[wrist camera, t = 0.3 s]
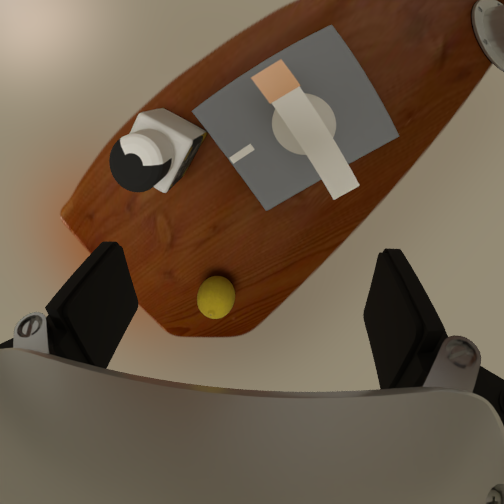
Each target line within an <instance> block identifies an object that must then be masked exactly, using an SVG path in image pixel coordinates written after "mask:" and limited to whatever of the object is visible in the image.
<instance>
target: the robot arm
mask: <svg viewBox="0 0 504 504" xmlns="http://www.w3.org/2000/svg"><path fill="white" fill-rule="evenodd" d="M472 24H473V29H474V32H475V35H476V38H477V40H478V42H479V44H480V46H481V48H482V50H483V51H484V53H485V54H486V56H487V57H488V59H489V60H490V61H491V62H492V63H493V64H494V65H495V66H496V67H497V68H499V69H500V70H502V71H503V72H504V5H503V4H502V3H500V2H498V1H496V0H479V1H477V2H476V3H475V4H474V6H473V9H472ZM45 308H46V310H47V312H48V314H49V315H48V316H47V318H46V317H45V315H44V314H43V313H40V312H34V313H30V314H28V315H26V316H25V317H23V318H22V319H21V320H20V321H19V322H18V323H17V325H16V327H15V329H14V338H12V339H10V340H8V341H6V342H4V343H2V344H0V504H504V380H503V379H501V378H500V377H498V376H496V375H495V374H493V373H491V372H490V371H488V370H486V369H485V368H483V367H481V366H480V364H481V355H480V351H479V350H478V348H477V346H476V345H475V344H474V343H473V342H472V341H470V340H469V339H467V338H465V337H462V336H450V337H448V336H447V334H446V332H445V329H444V326H443V324H442V322H441V320H440V318H439V316H438V314H437V312H436V310H435V308H434V307H433V305H432V303H431V301H430V299H429V297H428V295H427V293H426V292H425V290H424V288H423V286H422V284H421V283H420V281H419V279H418V277H417V276H416V274H415V272H414V271H413V269H412V267H411V265H410V264H409V262H408V261H407V259H406V257H405V256H404V254H403V253H402V251H401V250H400V249H385V250H384V251H383V253H379V255H378V258H377V263H376V267H375V271H374V275H373V279H372V283H371V287H370V291H369V294H368V298H367V302H366V306H365V309H364V322H365V326H366V330H367V333H368V337H369V341H370V345H371V349H372V353H373V357H374V362H375V366H376V370H377V374H378V379H379V384H380V388H381V389H380V390H364V391H341V392H340V391H339V392H338V391H337V392H280V391H258V390H243V389H242V390H241V389H230V388H219V387H209V386H201V385H193V384H186V383H179V382H172V381H166V380H159V379H154V378H148V377H143V376H137V375H132V374H127V373H123V372H118V371H114V370H109V369H106V368H107V366H108V364H109V362H110V360H111V358H112V356H113V354H114V352H115V350H116V348H117V346H118V344H119V342H120V340H121V339H122V337H123V335H124V333H125V331H126V329H127V327H128V325H129V324H130V322H131V320H132V318H133V316H134V314H135V312H136V311H137V308H138V299H137V296H136V293H135V290H134V286H133V283H132V280H131V276H130V273H129V270H128V266H127V262H126V259H125V255H124V251H123V248H122V247H121V246H119V244H118V243H117V242H102V243H101V244H100V245H99V246H98V247H97V248H96V249H95V250H94V251H93V252H92V253H91V255H90V256H89V257H88V258H87V259H86V260H85V261H84V262H83V263H82V264H81V266H80V267H79V268H78V269H77V270H76V271H75V272H74V273H73V275H72V276H71V277H70V278H69V279H68V280H67V282H66V283H65V284H64V285H63V286H62V288H61V289H60V290H59V291H58V292H57V293H56V295H55V296H54V297H53V298H52V300H51V301H50V302H49V303H48V305H47V306H46V307H45Z"/></svg>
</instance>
